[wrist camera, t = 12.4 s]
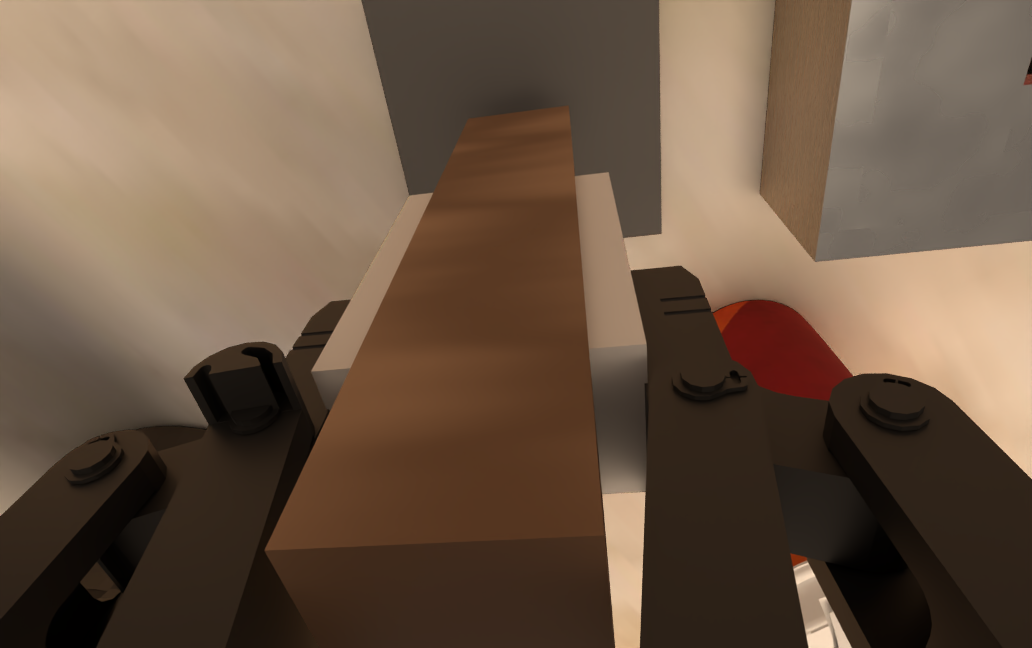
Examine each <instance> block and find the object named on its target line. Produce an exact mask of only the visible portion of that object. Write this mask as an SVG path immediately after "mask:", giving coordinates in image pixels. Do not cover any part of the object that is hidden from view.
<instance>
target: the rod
mask: <svg viewBox="0 0 1032 648" xmlns="http://www.w3.org/2000/svg"><path fill="white" fill-rule="evenodd" d="M264 551H265V553H266V555H267V556H268V558H269V560H270V562H271V563H272V565H273V567H274V569H275V570H276V572H277V574H278V576H279V577H280V579H281V581H282V583H283V584H284V586H285V588H286V590H287V591H288V593H289V595H290V597H291V598H292V600H293V602H294V604H295V605H296V607H297V609H298V611H299V612H300V614H301V616H302V618H303V619H304V621H305V623H306V625H307V626H308V628H309V630H310V632H311V633H312V635H313V637H314V639H315V640H316V642H317V644H318V646H319V647H320V648H615V640H614V628H613V616H612V605H611V593H610V581H609V569H608V557H607V546H606V534H605V522H604V510H603V498H602V487H601V476H600V466H599V455H598V444H597V433H596V422H595V411H594V400H593V389H592V378H591V367H590V356H589V345H588V333H587V320H586V308H585V296H584V284H583V272H582V260H581V248H580V235H579V223H578V211H577V199H576V187H575V170H574V159H573V148H572V136H571V125H570V114H569V105H568V106H561V107H553V108H546V109H538V110H530V111H523V112H515V113H508V114H500V115H492V116H485V117H477V118H470V119H468V120H467V122H466V125H465V127H464V129H463V131H462V133H461V135H460V137H459V139H458V141H457V144H456V146H455V148H454V150H453V152H452V154H451V156H450V158H449V161H448V163H447V165H446V167H445V169H444V171H443V173H442V175H441V177H440V180H439V182H438V184H437V186H436V188H435V190H434V192H433V194H432V197H431V199H430V201H429V203H428V205H427V207H426V209H425V211H424V213H423V216H422V218H421V220H420V222H419V224H418V226H417V228H416V230H415V233H414V235H413V237H412V239H411V241H410V243H409V245H408V247H407V249H406V252H405V254H404V256H403V258H402V260H401V262H400V264H399V266H398V269H397V271H396V273H395V275H394V277H393V279H392V281H391V283H390V285H389V288H388V290H387V292H386V294H385V296H384V298H383V300H382V302H381V305H380V307H379V309H378V311H377V313H376V315H375V317H374V319H373V321H372V324H371V326H370V328H369V330H368V332H367V334H366V336H365V338H364V341H363V343H362V345H361V347H360V349H359V351H358V353H357V355H356V357H355V360H354V362H353V364H352V366H351V368H350V370H349V372H348V374H347V376H346V379H345V381H344V383H343V385H342V387H341V389H340V391H339V393H338V396H337V398H336V400H335V402H334V404H333V406H332V408H331V410H330V412H329V415H328V417H327V419H326V421H325V423H324V425H323V427H322V429H321V432H320V434H319V436H318V438H317V440H316V442H315V444H314V446H313V448H312V451H311V453H310V455H309V457H308V459H307V461H306V463H305V465H304V468H303V470H302V472H301V474H300V476H299V478H298V480H297V482H296V484H295V487H294V489H293V491H292V493H291V495H290V497H289V499H288V501H287V504H286V506H285V508H284V510H283V512H282V514H281V516H280V518H279V520H278V523H277V525H276V527H275V529H274V531H273V533H272V535H271V537H270V540H269V542H268V544H267V546H266V548H265V550H264Z"/></svg>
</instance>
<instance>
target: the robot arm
mask: <svg viewBox="0 0 1032 648" xmlns="http://www.w3.org/2000/svg"><path fill="white" fill-rule="evenodd" d="M575 187H576V199H577V211H578V223H579V235H580V248H581V260H582V272H583V284H584V296H585V308H586V320H587V333H588V345H589V356H590V367H591V378H592V389H593V400H594V411H595V422H596V433H597V444H598V455H599V466H600V476H601V487H602V494H613V493H633V492H646V496H645V523H644V551H643V578H642V606H641V633H640V648H809V647H808V641H807V636H806V631H805V626H804V621H803V616H802V611H801V605H800V600H799V595H798V590H797V585H796V580H795V575H794V569H793V564H792V559H791V554H795V555H799V556H803V557H806V558H807V561H808V563H809V565H810V567H811V569H812V571H813V573H814V575H815V577H816V579H817V581H818V583H819V585H820V587H821V589H822V591H823V592H824V594H825V596H826V598H827V600H828V602H829V604H830V606H831V608H832V610H833V612H834V614H835V616H836V618H837V620H838V622H839V624H840V626H841V628H842V630H843V632H844V634H845V636H846V638H847V640H848V641H849V643H850V645H851V647H852V648H1032V479H1031V478H1030V477H1029V476H1028V475H1027V474H1026V473H1025V472H1024V471H1023V470H1022V469H1021V468H1020V467H1019V466H1018V465H1017V464H1016V463H1015V462H1014V461H1013V460H1012V459H1011V458H1010V457H1009V456H1008V455H1007V454H1006V453H1005V452H1004V451H1003V450H1002V449H1001V448H1000V447H999V446H998V445H997V444H996V443H995V442H994V441H993V440H992V439H991V438H990V437H989V436H988V435H987V434H986V433H985V432H984V431H983V430H982V429H980V428H979V427H978V426H977V425H976V424H975V423H974V422H973V421H972V420H971V419H970V418H969V417H968V416H967V415H966V414H965V413H964V412H963V411H962V410H961V409H960V408H959V407H958V406H957V405H956V404H955V403H954V402H953V401H952V400H951V399H949V398H948V397H946V396H945V395H944V394H942V393H941V392H940V391H938V390H937V389H935V388H934V387H931V386H929V385H926V384H924V383H921V382H919V381H917V380H914V379H912V378H907V377H902V376H897V375H892V374H887V373H885V374H860V375H857V376H853V377H850V378H846V379H844V380H842V381H841V382H840V383H839V384H837V385H836V386H835V387H834V388H832V392H831V395H830V399H829V401H827V400H819V399H812V398H805V397H798V396H792V395H787V394H782V393H777V392H774V391H771V390H769V389H766V388H763V387H761V386H759V385H758V384H757V382H756V381H755V379H754V377H753V375H752V373H751V372H750V371H749V370H748V369H746V368H745V367H744V366H742V365H741V364H740V363H738V362H737V361H734V360H732V358H731V356H730V354H729V351H728V349H727V346H726V344H725V342H724V339H723V337H722V334H721V332H720V329H719V327H718V325H717V322H716V320H715V317H714V315H713V313H712V312H711V308H710V305H709V303H708V301H707V298H705V293H704V291H703V288H702V286H701V284H700V281H699V279H698V278H697V277H696V276H694V275H693V274H691V273H690V272H689V271H687V270H686V269H684V268H683V267H682V266H674V267H663V268H653V269H643V270H632V271H630V267H629V262H628V258H627V253H626V249H625V244H624V240H623V235H622V231H621V226H620V222H619V217H618V213H617V208H616V204H615V199H614V195H613V190H612V186H611V181H610V177H609V172H606V173H598V174H589V175H580V176H575ZM432 194H433V193H427V194H418V195H410V196H409V197H408V199H407V201H406V202H405V204H404V206H403V208H402V210H401V211H400V213H399V215H398V217H397V218H396V220H395V222H394V224H393V226H392V227H391V229H390V231H389V233H388V235H387V236H386V238H385V240H384V242H383V244H382V245H381V247H380V249H379V251H378V252H377V254H376V256H375V258H374V260H373V261H372V263H371V265H370V267H369V269H368V270H367V272H366V274H365V276H364V278H363V279H362V281H361V283H360V285H359V286H358V288H357V290H356V292H355V294H354V295H353V297H352V299H351V300H342V301H332V302H330V303H329V304H327V305H326V306H325V307H324V308H322V309H321V310H320V311H319V312H317V313H316V314H315V315H314V316H312V317H311V319H310V320H309V322H308V324H307V325H306V327H305V328H304V330H303V331H302V333H301V334H302V336H301V337H299V338H298V339H297V341H296V342H295V344H294V346H293V350H290V352H289V353H288V355H287V357H286V358H285V357H284V354H283V352H282V351H281V350H280V349H279V348H278V347H277V346H276V345H275V344H271V343H266V342H251V343H244V344H240V345H237V346H233V347H229V348H226V349H224V350H222V351H220V352H218V353H215V354H213V355H211V356H209V357H208V358H206V359H205V360H203V361H202V362H200V363H199V364H197V365H196V366H194V367H193V368H192V370H191V371H190V372H189V373H188V374H187V375H186V376H185V377H184V380H185V382H186V384H187V386H188V388H189V389H190V391H191V393H192V395H193V397H194V398H195V400H196V402H197V404H198V406H199V407H200V409H201V411H202V413H203V415H204V417H205V418H206V420H207V422H208V424H209V426H208V428H207V430H203V429H198V428H190V427H178V426H161V427H149V428H143V429H138V430H123V431H116V432H111V433H107V434H104V435H101V436H100V437H99V436H98V437H95V438H93V439H90V440H88V441H87V442H85V444H83V445H81V446H79V447H77V448H75V449H74V450H72V451H71V452H70V453H68V454H67V455H66V456H64V457H63V458H62V459H61V460H59V461H58V462H57V463H56V464H55V465H54V466H52V467H51V468H50V469H49V470H48V471H47V472H46V473H45V474H44V475H43V476H42V477H41V478H40V479H39V480H38V481H37V482H36V483H35V484H34V485H33V486H32V487H31V488H30V489H28V490H27V491H26V492H25V493H24V494H23V495H22V496H21V497H20V498H19V499H18V500H17V501H16V502H15V503H14V504H13V505H12V506H11V507H10V508H9V509H8V510H7V511H5V512H4V513H3V514H2V515H1V516H0V648H320V647H319V646H318V644H317V642H316V640H315V639H314V637H313V635H312V633H311V632H310V630H309V628H308V626H307V625H306V623H305V621H304V619H303V618H302V616H301V614H300V612H299V611H298V609H297V607H296V605H295V604H294V602H293V600H292V598H291V597H290V595H289V593H288V591H287V590H286V588H285V586H284V584H283V583H282V581H281V579H280V577H279V576H278V574H277V572H276V570H275V569H274V567H273V565H272V563H271V562H270V560H269V558H268V556H267V555H266V553H265V551H264V550H265V548H266V546H267V544H268V542H269V540H270V537H271V535H272V533H273V531H274V529H275V527H276V525H277V523H278V520H279V518H280V516H281V514H282V512H283V510H284V508H285V506H286V504H287V501H288V499H289V497H290V495H291V493H292V491H293V489H294V487H295V484H296V482H297V480H298V478H299V476H300V474H301V472H302V470H303V468H304V465H305V463H306V461H307V459H308V457H309V455H310V453H311V451H312V448H313V446H314V444H315V442H316V440H317V438H318V436H319V434H320V432H321V429H322V427H323V425H324V423H325V421H326V419H327V417H328V415H329V412H330V410H331V408H332V406H333V404H334V402H335V400H336V398H337V396H338V393H339V391H340V389H341V387H342V385H343V383H344V381H345V379H346V376H347V374H348V372H349V370H350V368H351V366H352V364H353V362H354V360H355V357H356V355H357V353H358V351H359V349H360V347H361V345H362V343H363V341H364V338H365V336H366V334H367V332H368V330H369V328H370V326H371V324H372V321H373V319H374V317H375V315H376V313H377V311H378V309H379V307H380V305H381V302H382V300H383V298H384V296H385V294H386V292H387V290H388V288H389V285H390V283H391V281H392V279H393V277H394V275H395V273H396V271H397V269H398V266H399V264H400V262H401V260H402V258H403V256H404V254H405V252H406V249H407V247H408V245H409V243H410V241H411V239H412V237H413V235H414V233H415V230H416V228H417V226H418V224H419V222H420V220H421V218H422V216H423V213H424V211H425V209H426V207H427V205H428V203H429V201H430V199H431V197H432ZM790 553H791V554H790Z"/></svg>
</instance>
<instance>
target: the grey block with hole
mask: <svg viewBox="0 0 1032 648" xmlns="http://www.w3.org/2000/svg"><path fill="white" fill-rule="evenodd" d="M1031 58H1032V0H776V3H775V15H774V28H773V40H772V52H771V65H770V77H769V89H768V102H767V114H766V126H765V139H764V151H763V163H762V176H761V188H760V195H761V196H762V197H763V198H764V200H765V201H766V202H767V203H768V205H769V206H770V207H771V208H772V209H773V211H774V212H775V213H776V214H777V216H778V217H779V218H780V219H781V221H782V222H783V223H784V224H785V225H786V227H787V228H788V229H789V230H790V232H791V233H792V234H793V235H794V237H795V238H796V239H797V240H798V241H799V243H800V244H801V245H802V246H803V248H804V249H805V250H806V251H807V253H808V254H809V255H810V256H811V257H812V259H813V260H814V261H815V262H818V261H829V260H839V259H849V258H859V257H869V256H880V255H890V254H900V253H910V252H920V251H931V250H941V249H951V248H961V247H971V246H982V245H992V244H1002V243H1012V242H1023V241H1032V74H1028V75H1026V74H1027V71H1028V68H1029V64H1030V61H1031Z"/></svg>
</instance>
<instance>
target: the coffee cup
mask: <svg viewBox="0 0 1032 648" xmlns="http://www.w3.org/2000/svg"><path fill="white" fill-rule="evenodd" d="M713 315H714V317H715V320H716V322H717V325H718V327H719V329H720V332H721V334H722V337H723V339H724V342H725V344H726V346H727V349H728V351H729V354H730V356H731V358H732V360H734V361H737V362H738V363H740V364H741V365H742V366H744V367H745V368H746V369H748V370H749V371H750V372H751V373H752V375H753V377H754V379H755V381H756V382H757V384H758V385H759V386H761V387H763V388H766V389H769V390H771V391H774V392H777V393H782V394H787V395H792V396H798V397H805V398H812V399H819V400H827V401H829V399H830V395H831V392H832V388H834V387H835V386H836V385H837V384H839V383H840V382H841V381H842V380H844V379H846V378H850V377H853V375H852V374H851V373H850V372H849V370H848V369H847V368H846V367H845V366H844V364H843V363H842V362H841V361H840V360H839V358H838V357H837V356H836V355H835V354H834V352H833V351H832V350H831V349H830V348H829V346H828V345H827V344H826V343H825V341H824V340H823V339H822V338H821V337H820V336H819V335H818V333H817V332H816V331H815V330H814V329H813V328H812V326H811V325H810V324H809V323H808V322H807V321H806V320H805V319H804V318H803V317H802V316H801V315H800V314H798V313H797V312H796V311H794V310H793V309H791V308H790V307H788V306H785V305H783V304H780V303H777V302H773V301H766V300H750V301H743V302H738V303H735V304H731V305H729V306H726V307H724V308H721V309H719V310H718V311H716V312H714V313H713ZM790 554H791V553H790ZM791 559H792V564H793V569H794V575H795V580H796V585H797V590H798V595H799V600H800V605H801V611H802V616H803V621H804V626H805V631H806V636H807V641H808V647H809V648H852V647H851V645H850V643H849V641H848V640H847V638H846V636H845V634H844V632H843V630H842V628H841V626H840V624H839V622H838V620H837V618H836V616H835V614H834V612H833V610H832V608H831V606H830V604H829V602H828V600H827V598H826V596H825V594H824V592H823V591H822V589H821V587H820V585H819V583H818V581H817V579H816V577H815V575H814V573H813V571H812V569H811V567H810V565H809V563H808V561H807V558H806V557H803V556H799V555H795V554H791Z"/></svg>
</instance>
